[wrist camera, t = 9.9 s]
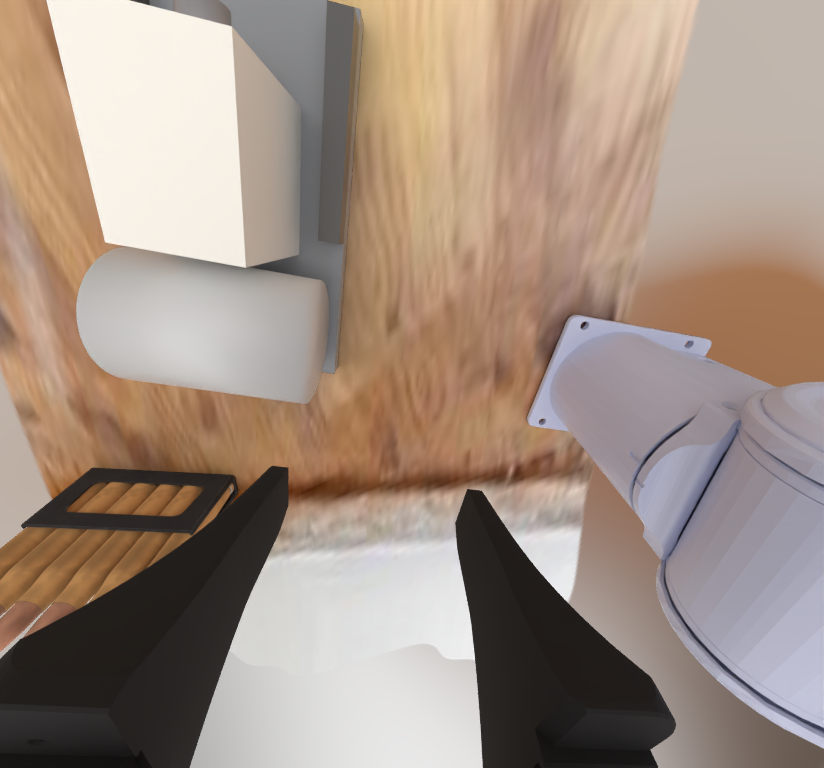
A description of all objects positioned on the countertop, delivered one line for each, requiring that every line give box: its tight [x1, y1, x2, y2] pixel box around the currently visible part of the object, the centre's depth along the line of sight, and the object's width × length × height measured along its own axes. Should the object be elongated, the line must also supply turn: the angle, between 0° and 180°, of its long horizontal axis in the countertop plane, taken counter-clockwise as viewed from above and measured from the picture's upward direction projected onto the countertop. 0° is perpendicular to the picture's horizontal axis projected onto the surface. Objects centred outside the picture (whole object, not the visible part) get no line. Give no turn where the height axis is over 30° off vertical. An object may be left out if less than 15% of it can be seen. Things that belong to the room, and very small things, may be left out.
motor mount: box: [76, 0, 364, 404], centre depth 13 cm, size 9×16×7 cm, turn 170°
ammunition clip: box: [0, 468, 238, 651], centre depth 19 cm, size 11×2×12 cm, turn 85°
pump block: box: [47, 0, 301, 268], centre depth 11 cm, size 4×7×6 cm, turn 170°
